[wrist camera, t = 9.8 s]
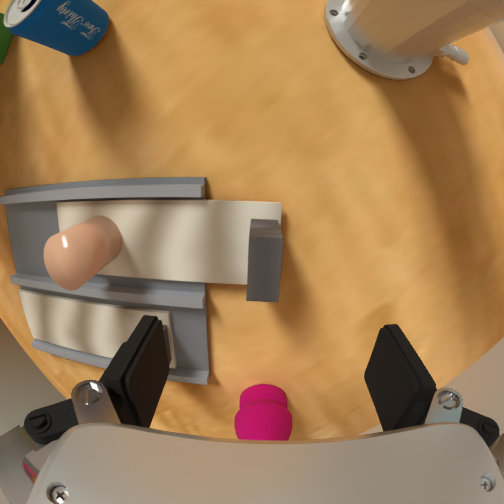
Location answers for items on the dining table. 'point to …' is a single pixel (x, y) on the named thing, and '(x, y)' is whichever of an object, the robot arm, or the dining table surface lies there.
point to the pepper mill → (263, 414)
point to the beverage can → (58, 23)
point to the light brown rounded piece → (82, 251)
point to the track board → (108, 286)
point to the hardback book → (4, 38)
